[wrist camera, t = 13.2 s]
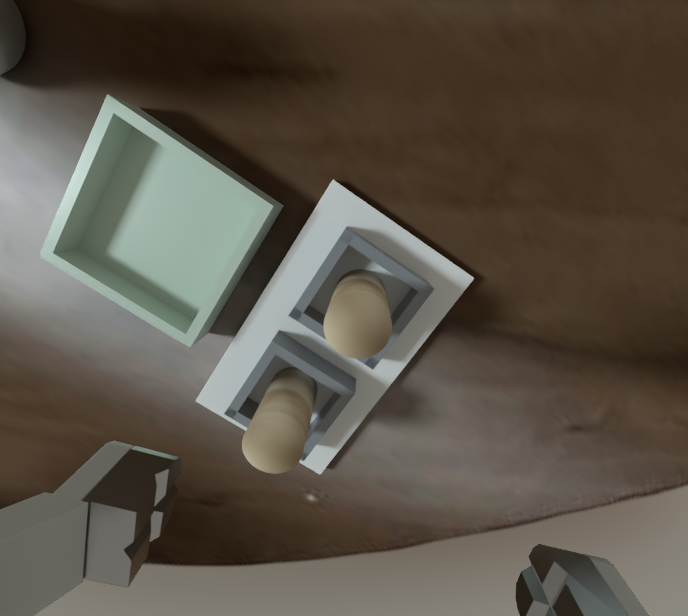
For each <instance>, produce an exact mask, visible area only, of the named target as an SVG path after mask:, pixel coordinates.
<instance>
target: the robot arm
mask: <svg viewBox="0 0 688 616" xmlns="http://www.w3.org/2000/svg"><path fill="white" fill-rule="evenodd" d="M181 461H182V460H181V459H180V458H179V457H176V456H172V455H168V454H164V453H161V452H157V451H153V450H149V449H146V448H142V447H138V446H132V445H129V444H125V443H121V442H118V441H112V442H109V443H107V444H105V445H104V446H103V447H102V448H101V449H100V450H99V451H98V452H97V453H96V454H95V455H94V456H93V457H91V458H90V459H89V460H88V461H87V462H86V463H85V464H84V465H83V466H82V467H81V468H80V469H79V470H77V471H76V472H75V473H74V474H73V475H72V476H71V477H70V478H69V479H68V480H67V481H66V482H65V483H64V484H62V485H61V486H60V487H59V488H58V489H57V490H56V491H55V492H54V493H53V494H51V493H46V492H44V493H42V494H39V495H36V496H34V497H31V498H29V499H26V500H23V501H21V502H18V503H16V504H13V505H10V506H8V507H5V508H3V509H0V616H34V615H35V614H37V613H38V612H40V611H41V610H42V609H44V608H45V607H47V606H48V605H50V604H51V603H53V602H54V601H56V600H57V599H58V598H60V597H61V596H63V595H64V594H66V593H67V592H69V591H70V590H71V589H73V588H74V587H76V586H77V585H79V584H80V583H81V582H82V581H83V579H88V580H92V581H98V582H103V583H108V584H113V585H117V586H123V587H128V586H129V585H130V583H131V582H132V580H133V579H134V577H135V575H136V574H137V572H138V570H139V569H140V567H141V566H142V564H143V562H144V561H145V559H146V558H147V556H148V549H149V542H151V541H153V540H154V539H156V538H158V537H159V536H160V535H161V533H162V531H163V530H164V528H165V526H166V524H167V522H168V520H169V518H170V515H171V513H172V511H173V508H174V504H175V501H176V496H177V490H178V489H177V488H176V486H175V484H174V481H175V480H176V478H177V477H178V475H179V474H180V469H181ZM529 559H530V562H531V565H532V566H530V567H528V568H527V569H525V570H523V571H522V572H521V574H520V576H519V578H518V581H517V583H516V602H517V607H518V611H519V614H520V616H649V615H648V614H647V612H646V611H645V609H644V608H643V607H642V605H641V604H640V602H639V601H638V599H637V598H636V597H635V595H634V594H633V592H632V591H631V589H630V588H629V587H628V585H627V584H626V582H625V581H624V580H623V578H622V577H621V575H620V574H619V573H618V571H617V570H616V568H615V567H614V565H613V564H611V563H610V562H609V561H608V560H606V559H604V558H599V557H595V556H590V555H586V554H579V553H575V552H571V551H567V550H562V549H558V548H554V547H550V546H545V545H541V544H538V545H537V546H535V547H534V548H533V549H532V552H531V553H530V555H529Z"/></svg>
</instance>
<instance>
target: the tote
mask: <svg viewBox="0 0 688 616" xmlns="http://www.w3.org/2000/svg"><path fill="white" fill-rule="evenodd" d="M283 207H284V206H283V205H282V204H280V203H279V202H278V201H276V200H275V199H273V198H272V197H270V196H269V195H267V194H266V193H264V192H263V191H261V190H260V189H258V188H257V187H255V186H254V185H252V184H251V183H249V182H248V181H246V180H245V179H244V178H242V177H241V176H239V175H238V174H236V173H235V172H233V171H232V170H230V169H229V168H227V167H226V166H224V165H223V164H221V163H220V162H218V161H217V160H215V159H214V158H212V157H211V156H209V155H208V154H207V153H205V152H204V151H202V150H201V149H199V148H198V147H196V146H195V145H193V144H192V143H190V142H189V141H187V140H186V139H184V138H183V137H181V136H180V135H178V134H177V133H175V132H174V131H173V130H171V129H170V128H168V127H167V126H165V125H164V124H162V123H161V122H159V121H158V120H156V119H155V118H153V117H152V116H150V115H149V114H147V113H146V112H144V111H143V110H141V109H140V108H138V107H136V106H134V105H132V104H129V103H127V102H125V101H122V100H120V99H118V98H115V97H113V96H111V95H108V94H107V96H106V99H105V101H104V103H103V106H102V108H101V110H100V113H99V115H98V117H97V120H96V122H95V124H94V127H93V129H92V131H91V134H90V136H89V139H88V141H87V143H86V146H85V148H84V150H83V153H82V155H81V157H80V160H79V162H78V164H77V167H76V169H75V171H74V174H73V176H72V179H71V181H70V183H69V186H68V188H67V190H66V193H65V195H64V197H63V200H62V202H61V204H60V207H59V209H58V211H57V214H56V216H55V219H54V221H53V223H52V226H51V228H50V230H49V233H48V235H47V237H46V240H45V242H44V244H43V247H42V249H41V252H40V254H39V256H40V257H41V258H43V259H44V260H46V261H48V262H49V263H51V264H53V265H54V266H56V267H58V268H59V269H61V270H63V271H64V272H66V273H67V274H69V275H71V276H72V277H74V278H76V279H77V280H79V281H81V282H82V283H84V284H86V285H87V286H89V287H91V288H92V289H94V290H95V291H97V292H99V293H100V294H102V295H104V296H105V297H107V298H109V299H110V300H112V301H114V302H115V303H117V304H119V305H120V306H122V307H123V308H125V309H127V310H128V311H130V312H132V313H133V314H135V315H137V316H138V317H140V318H142V319H143V320H145V321H147V322H148V323H150V324H151V325H153V326H155V327H156V328H158V329H160V330H161V331H163V332H165V333H166V334H168V335H170V336H171V337H173V338H175V339H176V340H178V341H179V342H181V343H183V344H184V345H186V346H188V347H189V348H191V347H192V346H193V345H194V344H196V343H197V342H198V341H199V340H200V339H202V338H203V337H204V336H205V335H206V334H208V332H209V331H210V329H211V327H212V326H213V324H214V322H215V321H216V319H217V317H218V316H219V314H220V312H221V311H222V309H223V307H224V306H225V304H226V302H227V301H228V299H229V297H230V296H231V294H232V292H233V290H234V289H235V287H236V285H237V284H238V282H239V280H240V279H241V277H242V275H243V274H244V272H245V270H246V269H247V267H248V265H249V264H250V262H251V260H252V259H253V257H254V255H255V254H256V252H257V250H258V249H259V247H260V245H261V243H262V242H263V240H264V238H265V237H266V235H267V233H268V232H269V230H270V228H271V227H272V225H273V223H274V222H275V220H276V218H277V217H278V215H279V213H280V212H281V210H282V208H283Z"/></svg>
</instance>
